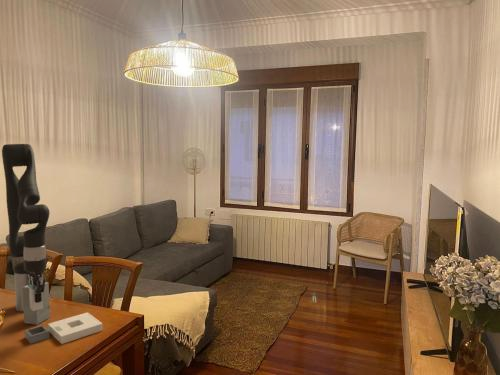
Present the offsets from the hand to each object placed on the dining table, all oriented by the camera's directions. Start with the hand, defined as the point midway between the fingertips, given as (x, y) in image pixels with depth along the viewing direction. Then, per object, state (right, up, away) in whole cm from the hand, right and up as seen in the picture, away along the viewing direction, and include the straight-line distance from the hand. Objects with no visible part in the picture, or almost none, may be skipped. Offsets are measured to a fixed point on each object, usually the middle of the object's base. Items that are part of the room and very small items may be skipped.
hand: (36, 300), depth 150 cm
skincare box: (-8, -13, +16) cm, 23 cm away
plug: (0, -3, 0) cm, 3 cm away
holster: (0, -15, +2) cm, 15 cm away
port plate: (+11, -15, +8) cm, 20 cm away
